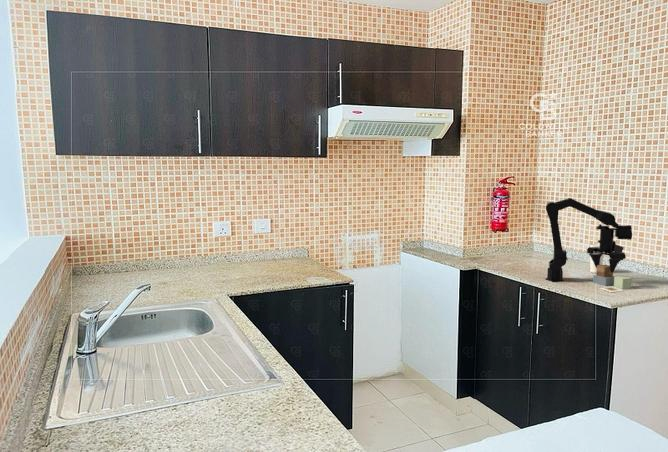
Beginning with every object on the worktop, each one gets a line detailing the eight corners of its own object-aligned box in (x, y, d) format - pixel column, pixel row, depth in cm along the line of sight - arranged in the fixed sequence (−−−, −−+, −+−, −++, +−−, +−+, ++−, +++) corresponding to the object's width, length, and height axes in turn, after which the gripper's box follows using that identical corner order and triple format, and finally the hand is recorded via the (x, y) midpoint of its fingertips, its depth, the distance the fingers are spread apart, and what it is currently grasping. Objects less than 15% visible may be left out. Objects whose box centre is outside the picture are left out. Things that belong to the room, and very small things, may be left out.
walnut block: (603, 277, 241) (604, 267, 240) (596, 275, 245) (596, 265, 245) (612, 276, 242) (613, 266, 241) (605, 274, 246) (605, 264, 246)
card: (611, 292, 228) (611, 291, 228) (599, 288, 234) (599, 287, 234) (623, 291, 229) (623, 290, 229) (611, 287, 236) (611, 286, 236)
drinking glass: (598, 270, 271) (599, 243, 269) (605, 273, 264) (607, 245, 262) (586, 271, 271) (587, 243, 269) (592, 273, 264) (594, 246, 262)
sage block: (622, 289, 233) (622, 279, 232) (613, 286, 238) (614, 276, 237) (631, 288, 234) (631, 278, 233) (622, 286, 239) (623, 275, 238)
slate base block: (605, 286, 239) (605, 278, 239) (592, 283, 246) (593, 275, 245) (615, 284, 242) (616, 276, 242) (602, 281, 249) (603, 273, 248)
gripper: (636, 240, 234) (634, 273, 236) (605, 235, 252) (603, 265, 254) (616, 242, 231) (614, 275, 233) (586, 236, 249) (585, 267, 251)
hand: (604, 270), depth 243 cm, fingers open, 9 cm apart
